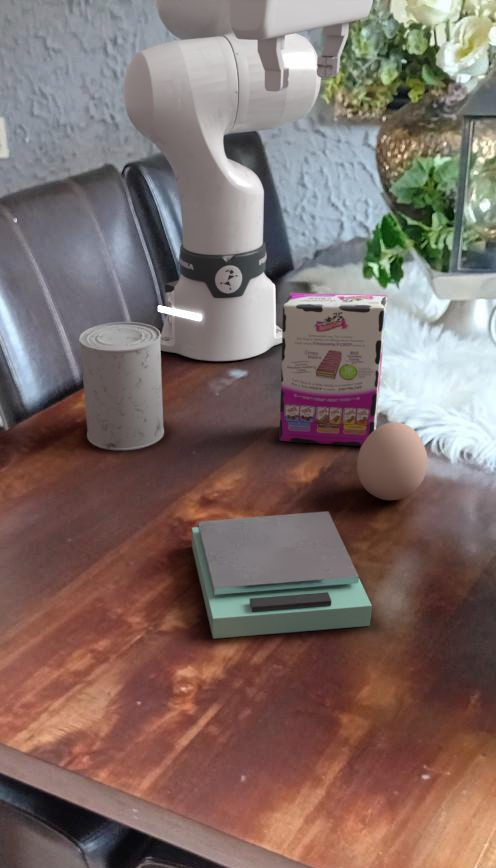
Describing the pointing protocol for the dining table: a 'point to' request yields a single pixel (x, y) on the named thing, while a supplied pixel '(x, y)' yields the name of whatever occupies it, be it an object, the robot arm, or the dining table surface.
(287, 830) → the dining table surface
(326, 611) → the scale
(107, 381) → the tin can
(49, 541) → the dining table surface
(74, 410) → the dining table surface
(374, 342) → the candy bar box
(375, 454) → the egg
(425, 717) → the dining table surface
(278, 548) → the scale pan
